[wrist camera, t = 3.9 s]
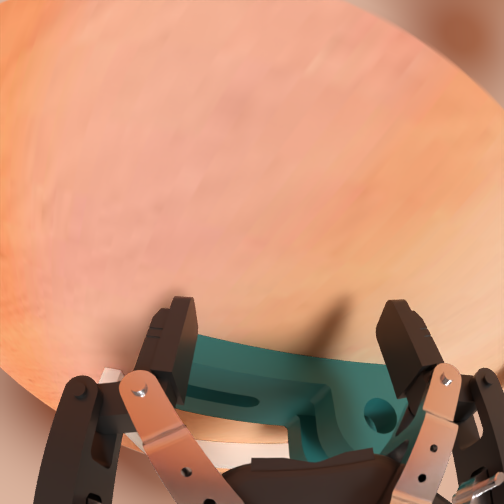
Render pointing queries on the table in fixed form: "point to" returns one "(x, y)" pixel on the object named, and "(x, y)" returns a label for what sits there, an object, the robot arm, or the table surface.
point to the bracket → (295, 397)
